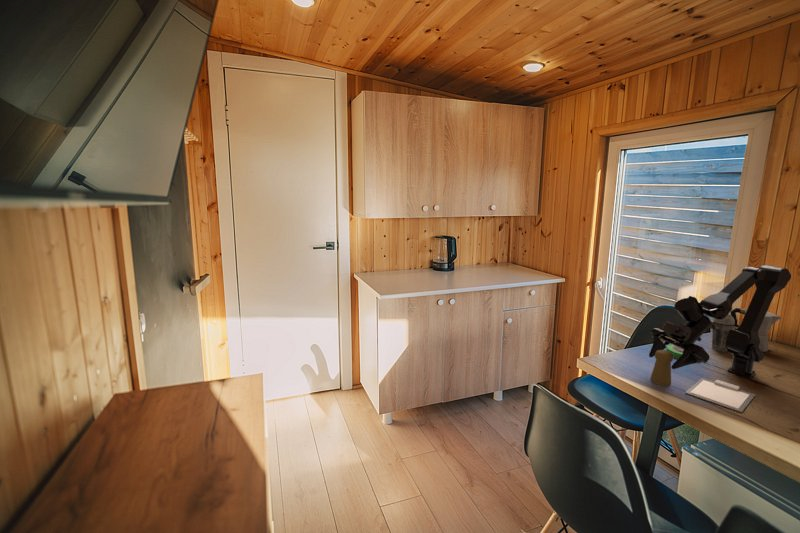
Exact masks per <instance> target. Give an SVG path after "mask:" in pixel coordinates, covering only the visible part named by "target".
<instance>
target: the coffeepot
mask: <svg viewBox="0 0 800 533" xmlns="http://www.w3.org/2000/svg"><path fill="white" fill-rule="evenodd" d="M746 311H747V309H744V308H739V307H736V308H732V310H731V311H730V313H729V314H730V315H731V316H732V317H733V318H734V320H735V325H734V328H738V327H739V326H740V324H738V319H737V313H738V314H742V315H743V316H744V315H745V313H746ZM782 319H783V317H782V316H780V315H778V314H773V313H772V312H769V311H767V313H766V315H765V317H764V319H763V322H762V324H761V326H760V328H759V330H758V335H759V339H760V344H759V349H760V350H761V351H762V352H763V353H765V352H768V351H769V349H770V348H769V346H770V344H769V335H768V332H769V331H770V330H771V328H772V325H774V324H775V323H776V322H777V321H779V320H782Z"/></svg>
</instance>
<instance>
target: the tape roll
mask: <svg viewBox="0 0 800 533" xmlns="http://www.w3.org/2000/svg"><path fill="white" fill-rule="evenodd" d="M683 350H684V349H682V348H679V347H677V346H675V345H673V344H669V345H666V351H669V352H671V353H672V354H673V359H677V360H678V358H679V357H680V356H681V355H682V354H683Z"/></svg>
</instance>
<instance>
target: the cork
mask: <svg viewBox="0 0 800 533" xmlns="http://www.w3.org/2000/svg"><path fill="white" fill-rule="evenodd" d="M666 350H667V349H666ZM666 350H665V349H664V350H657V351H656V353H655V356H654V358H655V362H654V366H653V369H652V372H651V376H650V378H649V379H650V381H651V382H652V383H655V384H656V385H660V386H667V387H668V385H669V386H671V385H672V368H671V366H672V365H671V364H672V362H673V360H674V357H673V354H672V353H671V352H669V351H666Z"/></svg>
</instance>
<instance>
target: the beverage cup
mask: <svg viewBox="0 0 800 533" xmlns="http://www.w3.org/2000/svg"><path fill="white" fill-rule="evenodd" d="M711 320H712V321H714V322H715V323H714V324H715V329H712V331H711V332H712V336H711V338H712V339H711V349H713V351H717V352H723V353H724V352H727V348H726V344H725V342H726V339H725V338H726V337H727V336H728V333H729V331H730V330H731V329H733V330H734V328H735V326H734V325H735V320H734V318H733V317H732V316H731V313H729V314H728V315H727V316H726V317H725V318H724V319H715V318H712V319H711Z"/></svg>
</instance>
